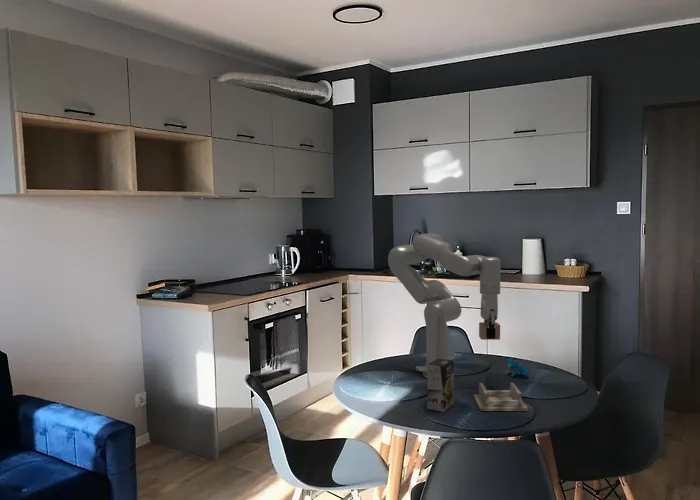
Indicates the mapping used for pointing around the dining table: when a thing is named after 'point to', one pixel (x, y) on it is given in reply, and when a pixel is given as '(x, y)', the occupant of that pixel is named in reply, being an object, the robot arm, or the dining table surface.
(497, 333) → the brown block
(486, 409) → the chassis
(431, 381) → the coffee box
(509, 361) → the toy dinosaur
